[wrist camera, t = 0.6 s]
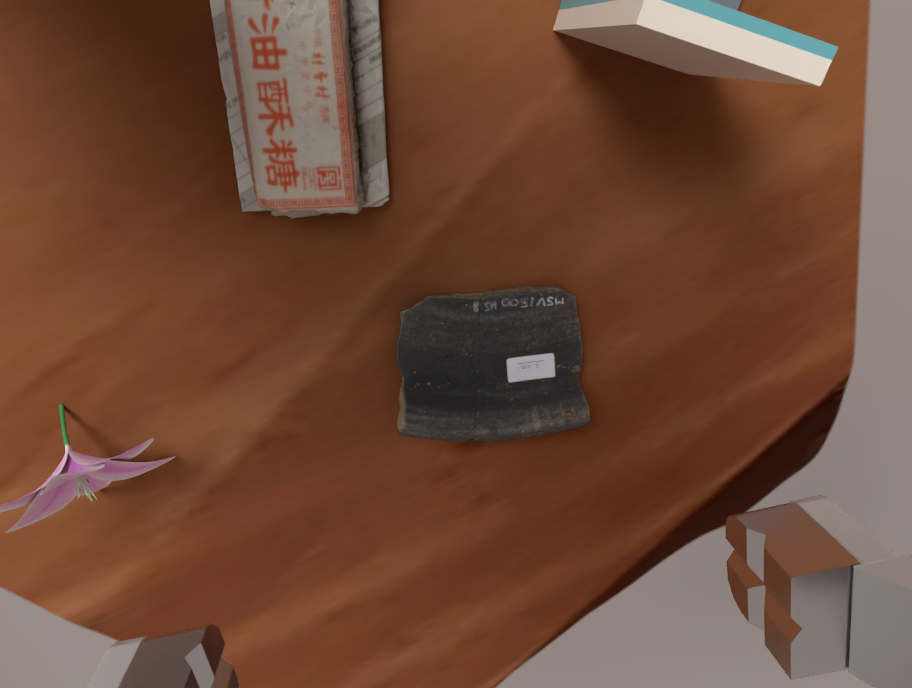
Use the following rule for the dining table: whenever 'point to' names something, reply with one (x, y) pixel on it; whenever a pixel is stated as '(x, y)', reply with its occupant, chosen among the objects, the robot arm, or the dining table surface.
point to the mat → (728, 3)
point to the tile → (698, 39)
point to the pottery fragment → (491, 365)
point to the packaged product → (304, 103)
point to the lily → (78, 479)
